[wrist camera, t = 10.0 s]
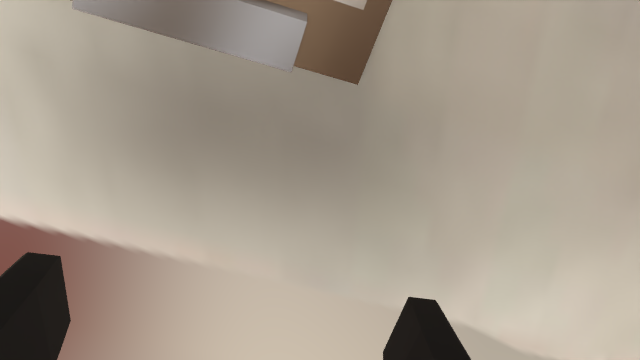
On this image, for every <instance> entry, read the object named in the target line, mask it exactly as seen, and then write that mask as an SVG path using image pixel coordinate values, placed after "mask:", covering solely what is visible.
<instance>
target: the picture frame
mask: <svg viewBox="0 0 640 360" xmlns="http://www.w3.org/2000/svg"><path fill="white" fill-rule="evenodd" d="M72 1H73V5H72V9H75V10H79V11H82V12H86V13H89V14H93V15H96V16H99V17H103V18H106V19H110V20H113V21H117V22H120V23H123V24H127V25H130V26H134V27H137V28H141V29H144V30H147V31H151V32H154V33H158V34H161V35H165V36H168V37H171V38H175V39H178V40H182V41H185V42H189V43H192V44H195V45H199V46H202V47H206V48H209V49H213V50H216V51H219V52H223V53H226V54H230V55H233V56H237V57H240V58H243V59H247V60H250V61H254V62H257V63H261V64H264V65H268V66H271V67H274V68H278V69H281V70H285V71H288V72H292V68H293V66H296V67H299V68H303V69H306V70H310V71H313V72H316V73H320V74H323V75H327V76H330V77H333V78H337V79H340V80H344V81H347V82H350V83H354V84H357V85H358V83H359V80H360V78H361V75H362V73H363V71H364V68H365V66H366V63H367V61H368V58H369V56H370V53H371V51H372V48H373V46H374V44H375V41H376V39H377V36H378V34H379V31H380V29H381V26H382V24H383V22H384V19H385V17H386V14H387V12H388V9H389V7H390V4H391V2H392V0H72Z"/></svg>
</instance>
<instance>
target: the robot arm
mask: <svg viewBox="0 0 640 360" xmlns="http://www.w3.org/2000/svg"><path fill="white" fill-rule="evenodd" d="M70 321H71V320H70V314H69V308H68V301H67V295H66V289H65V282H64V276H63V270H62V263H61V257H60V256H55V255H46V254H37V253H29V252H28V253H26V254H25V255H23V256H22V257H21V258H20V259H19V260H18V261H16V262H15V263H14V264H13V265H12V266H11V267H10V268H9V269H8V270H6V271H5V272H4V273H3V274H2V275H1V276H0V360H57V358H58V355H59V353H60V350H61V347H62V344H63V341H64V338H65V335H66V332H67V329H68V326H69V324H70ZM383 360H471V359H470V357H469V355H468V354H467V352H466V350H465V349H464V347H463V345H462V344H461V342H460V340H459V339H458V337H457V335H456V334H455V332H454V330H453V329H452V327H451V325H450V323H449V322H448V320H447V318H446V317H445V315H444V313H443V311H442V310H441V308H440V306H439V305H438V303H437V302H436V300H430V299H422V298H413V297H408V299H407V302H406V304H405V306H404V308H403V310H402V312H401V314H400V317H399V319H398V321H397V323H396V325H395V327H394V329H393V332H392V334H391V336H390V338H389V340H388V342H387V344H386V347H385V349H384V351H383Z"/></svg>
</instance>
